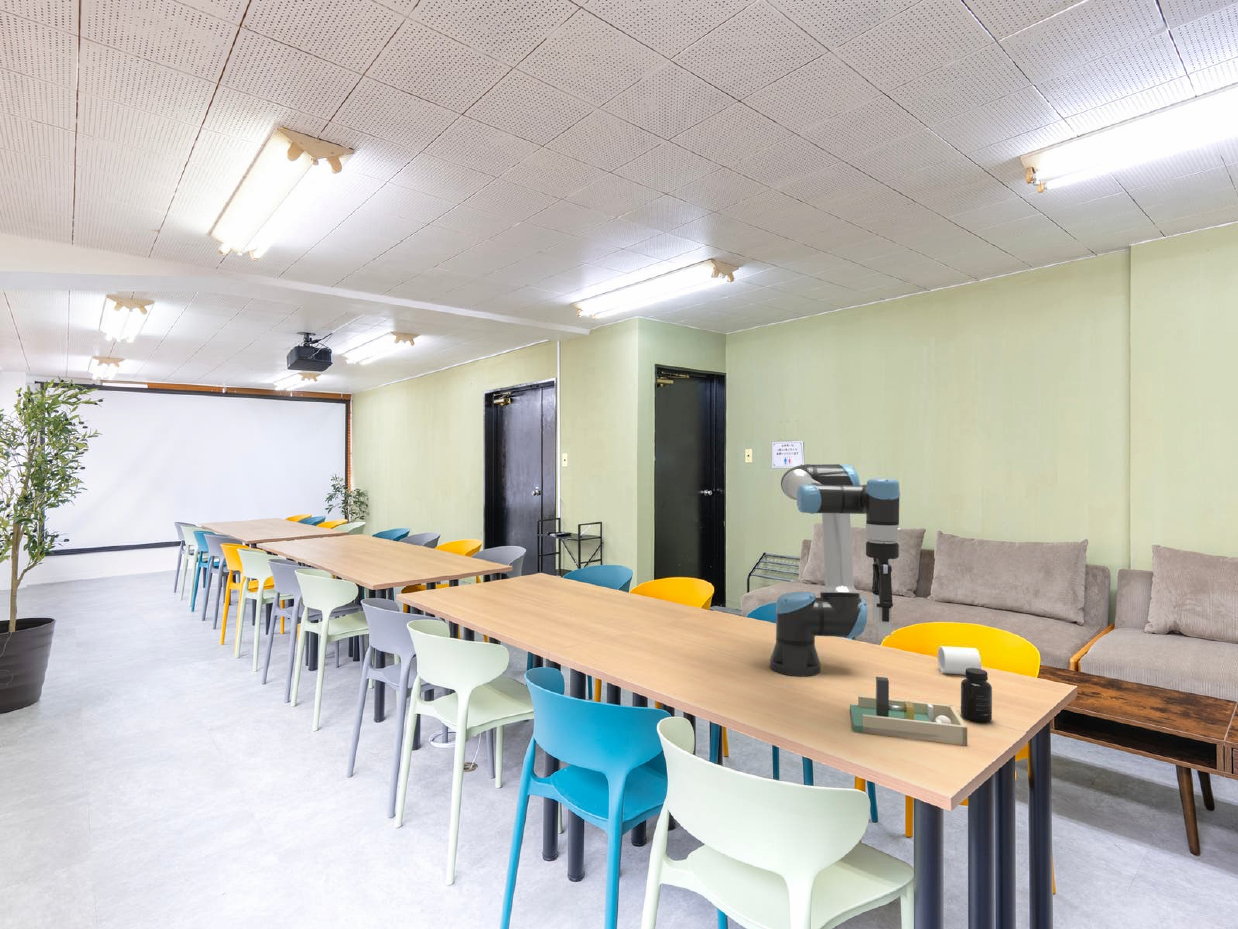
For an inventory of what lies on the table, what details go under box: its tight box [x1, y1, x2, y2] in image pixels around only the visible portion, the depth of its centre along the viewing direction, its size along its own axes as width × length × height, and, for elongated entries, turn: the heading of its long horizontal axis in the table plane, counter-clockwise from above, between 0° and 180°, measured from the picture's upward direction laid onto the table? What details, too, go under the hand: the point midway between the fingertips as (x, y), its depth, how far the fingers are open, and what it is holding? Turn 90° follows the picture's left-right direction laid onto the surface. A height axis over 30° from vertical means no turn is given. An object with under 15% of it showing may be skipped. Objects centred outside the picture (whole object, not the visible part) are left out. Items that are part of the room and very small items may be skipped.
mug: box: [937, 645, 982, 676], centre depth 194 cm, size 12×10×8 cm
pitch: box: [849, 695, 968, 746], centre depth 151 cm, size 24×14×4 cm, turn 74°
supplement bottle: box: [960, 668, 993, 724], centre depth 157 cm, size 7×7×12 cm
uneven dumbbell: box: [875, 676, 914, 720], centre depth 152 cm, size 8×4×9 cm, turn 74°
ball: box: [936, 715, 952, 724], centre depth 149 cm, size 4×4×4 cm
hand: (881, 627), depth 155 cm, fingers open, 13 cm apart
